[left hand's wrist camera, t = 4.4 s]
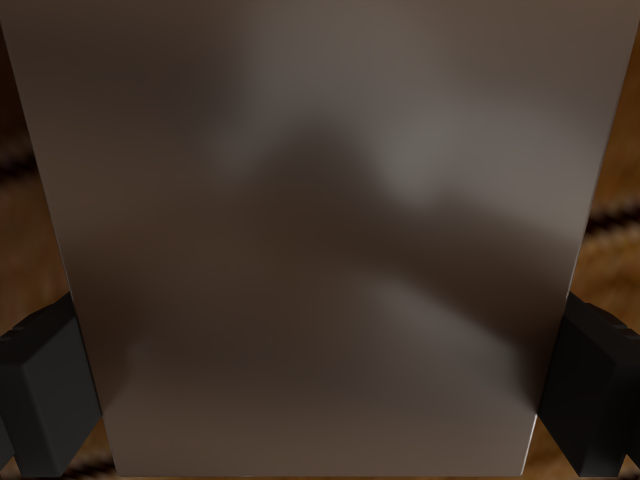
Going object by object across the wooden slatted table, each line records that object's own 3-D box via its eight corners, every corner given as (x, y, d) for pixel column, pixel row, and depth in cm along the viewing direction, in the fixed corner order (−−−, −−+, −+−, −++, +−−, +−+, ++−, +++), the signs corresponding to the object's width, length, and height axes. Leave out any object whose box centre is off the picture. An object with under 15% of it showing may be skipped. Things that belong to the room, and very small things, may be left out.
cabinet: (158, -205, 12) (-265, -982, 3) (481, -206, 12) (904, -982, 3) (213, 293, 19) (116, 477, 10) (426, 293, 19) (522, 478, 10)
